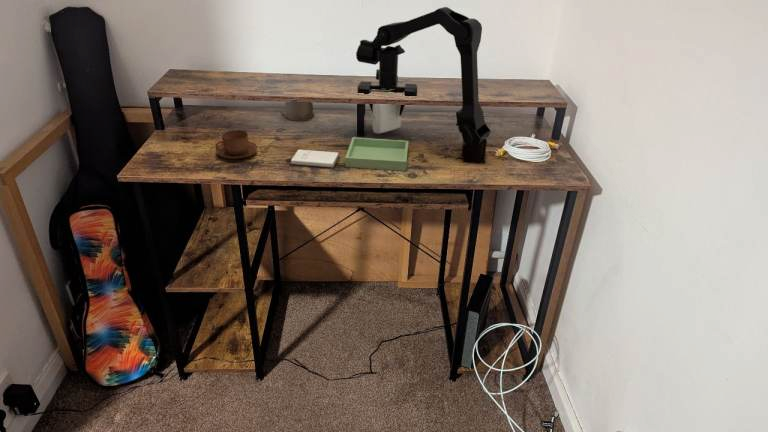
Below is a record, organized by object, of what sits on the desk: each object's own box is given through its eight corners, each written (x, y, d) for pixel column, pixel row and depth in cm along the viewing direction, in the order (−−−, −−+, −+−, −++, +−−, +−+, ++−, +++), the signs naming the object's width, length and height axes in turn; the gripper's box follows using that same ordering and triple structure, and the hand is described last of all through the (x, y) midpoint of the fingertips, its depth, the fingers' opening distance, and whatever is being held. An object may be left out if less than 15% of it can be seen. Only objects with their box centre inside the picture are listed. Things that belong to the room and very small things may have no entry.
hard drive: (333, 168, 148) (291, 164, 149) (339, 157, 155) (298, 153, 156) (333, 163, 147) (290, 159, 148) (339, 152, 154) (298, 148, 155)
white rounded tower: (378, 135, 165) (379, 97, 159) (370, 131, 168) (370, 94, 162) (402, 128, 171) (404, 91, 164) (394, 124, 174) (395, 88, 167)
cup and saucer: (237, 166, 147) (234, 146, 144) (207, 156, 152) (204, 136, 149) (266, 152, 156) (264, 133, 153) (237, 143, 161) (234, 124, 158)
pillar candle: (318, 114, 186) (316, 73, 178) (304, 123, 178) (302, 80, 170) (294, 110, 189) (292, 69, 181) (280, 118, 181) (277, 76, 173)
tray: (408, 149, 161) (408, 140, 160) (405, 170, 148) (406, 161, 146) (352, 145, 162) (352, 137, 161) (345, 166, 149) (345, 157, 147)
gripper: (419, 61, 165) (416, 108, 173) (361, 59, 166) (361, 105, 174) (418, 71, 156) (415, 120, 164) (357, 68, 157) (357, 117, 165)
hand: (386, 115), depth 167 cm, fingers closed on white rounded tower, 8 cm apart
